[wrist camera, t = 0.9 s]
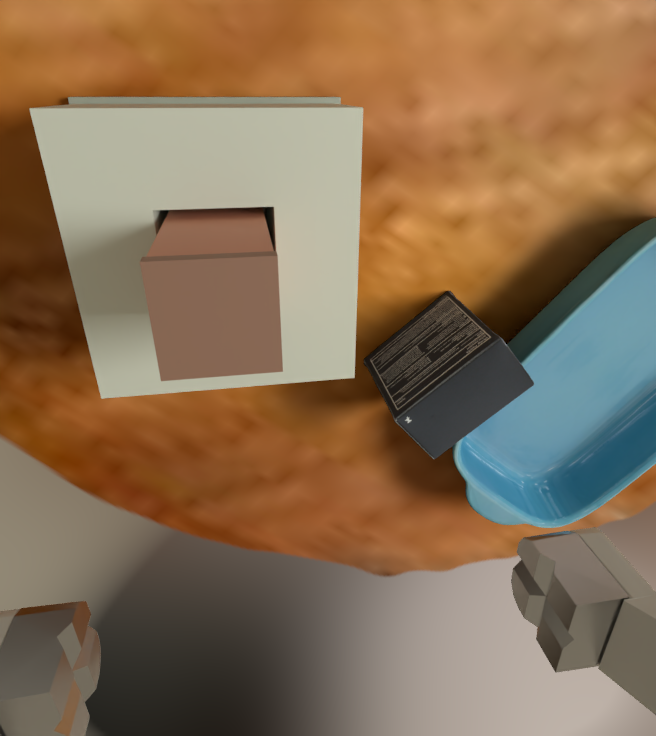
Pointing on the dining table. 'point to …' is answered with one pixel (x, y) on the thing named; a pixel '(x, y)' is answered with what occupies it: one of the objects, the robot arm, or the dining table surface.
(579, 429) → the casserole dish
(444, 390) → the small box
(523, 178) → the dining table surface
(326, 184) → the housing
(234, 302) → the plunger
